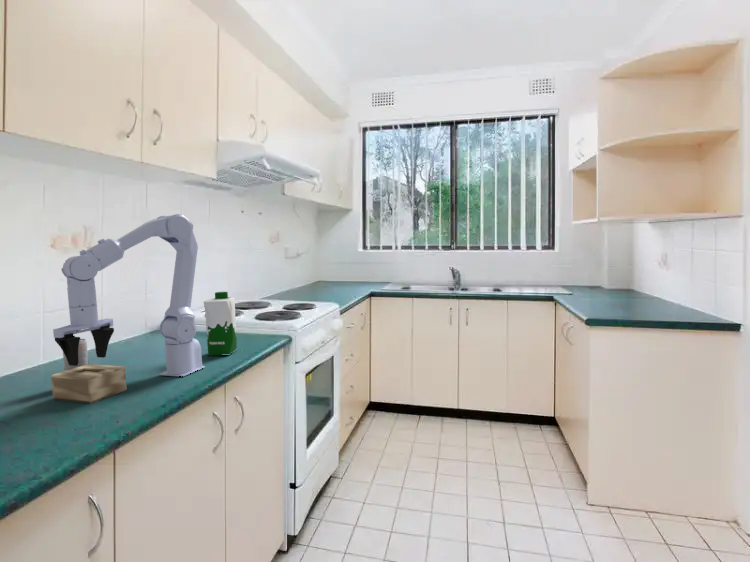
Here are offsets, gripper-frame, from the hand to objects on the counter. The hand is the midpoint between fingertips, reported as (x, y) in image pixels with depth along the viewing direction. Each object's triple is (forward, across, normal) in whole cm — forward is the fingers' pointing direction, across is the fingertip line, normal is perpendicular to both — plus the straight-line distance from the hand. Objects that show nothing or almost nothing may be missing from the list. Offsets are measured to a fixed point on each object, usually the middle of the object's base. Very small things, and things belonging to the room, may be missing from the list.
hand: (88, 361), depth 113 cm
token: (+8, 0, 0) cm, 8 cm away
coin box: (+8, 0, 0) cm, 8 cm away
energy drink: (+9, +5, +10) cm, 14 cm away
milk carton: (+9, +43, -7) cm, 44 cm away
